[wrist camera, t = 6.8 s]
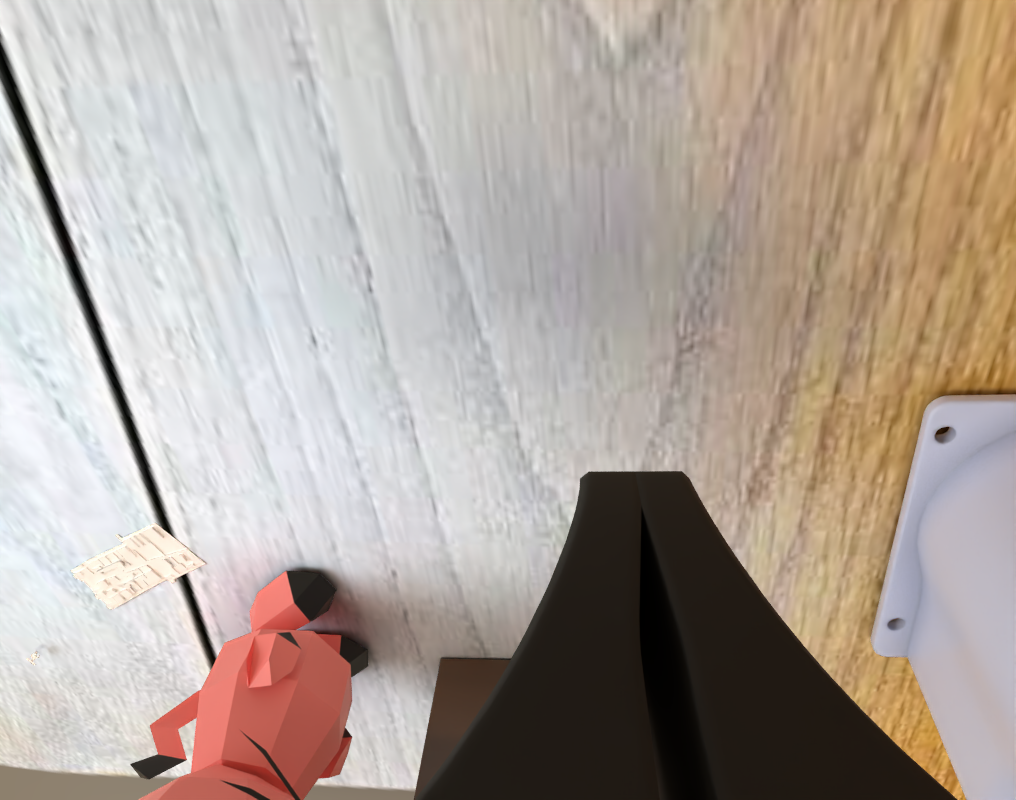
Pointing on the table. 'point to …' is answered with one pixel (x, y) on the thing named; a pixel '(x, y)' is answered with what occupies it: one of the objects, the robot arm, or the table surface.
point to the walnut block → (455, 708)
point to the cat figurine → (265, 705)
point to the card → (135, 566)
